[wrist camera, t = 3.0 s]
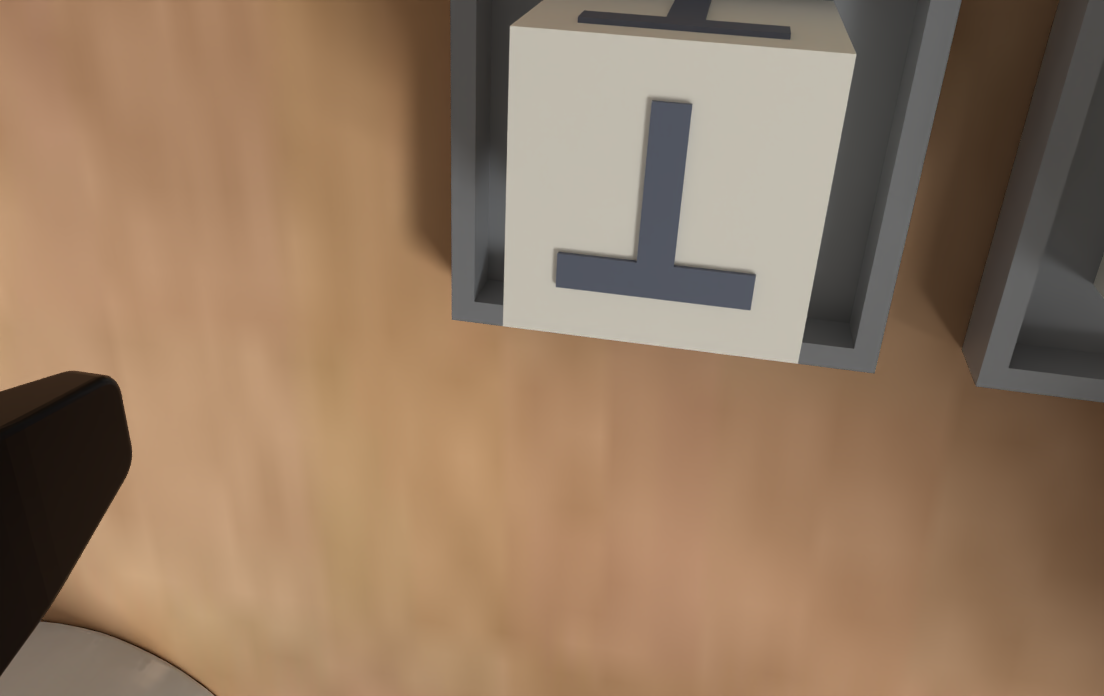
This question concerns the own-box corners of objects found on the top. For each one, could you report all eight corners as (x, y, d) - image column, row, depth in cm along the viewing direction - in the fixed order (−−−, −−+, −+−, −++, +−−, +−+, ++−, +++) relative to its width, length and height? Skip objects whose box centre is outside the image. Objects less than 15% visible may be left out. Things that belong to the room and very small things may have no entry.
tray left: (968, -113, 17) (986, -109, 16) (867, 338, 21) (874, 373, 20) (472, -141, 18) (449, -140, 17) (470, 290, 23) (452, 319, 21)
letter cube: (834, -5, 18) (858, 49, 14) (789, 250, 20) (797, 366, 16) (568, -24, 19) (508, 20, 14) (555, 224, 21) (501, 328, 17)
